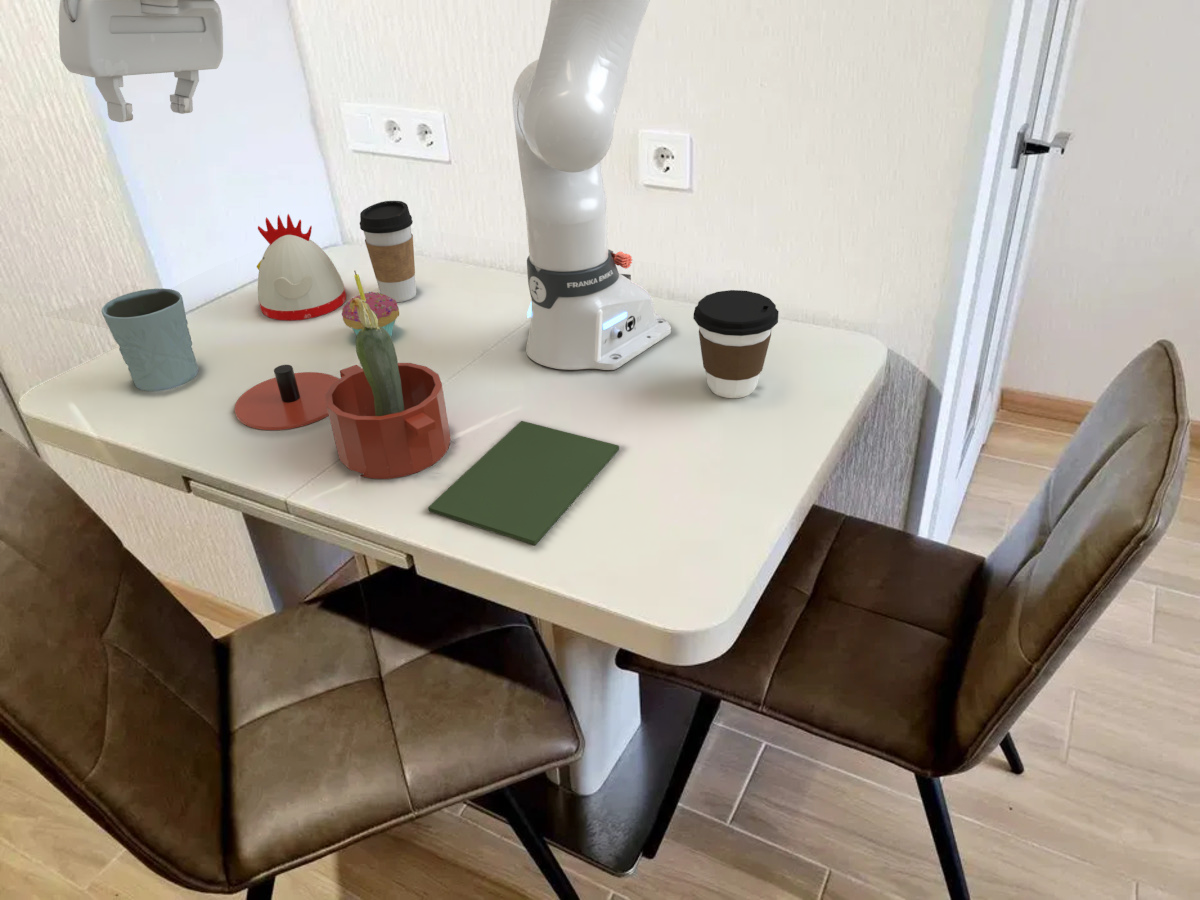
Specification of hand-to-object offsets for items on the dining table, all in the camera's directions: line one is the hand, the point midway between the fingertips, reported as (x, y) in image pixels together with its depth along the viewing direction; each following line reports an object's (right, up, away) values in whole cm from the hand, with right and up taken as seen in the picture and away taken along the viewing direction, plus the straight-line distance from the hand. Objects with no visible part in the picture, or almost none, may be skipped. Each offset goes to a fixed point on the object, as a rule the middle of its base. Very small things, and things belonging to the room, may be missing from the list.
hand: (152, 116), depth 95 cm
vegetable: (+23, -36, +15) cm, 45 cm away
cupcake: (+14, -19, +40) cm, 47 cm away
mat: (+40, -40, +8) cm, 57 cm away
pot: (+23, -36, +15) cm, 45 cm away
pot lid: (+7, -29, +24) cm, 39 cm away
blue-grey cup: (-14, -26, +32) cm, 43 cm away
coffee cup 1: (+14, -10, +54) cm, 57 cm away
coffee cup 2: (+66, -28, +24) cm, 76 cm away
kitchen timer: (-1, -11, +53) cm, 54 cm away
